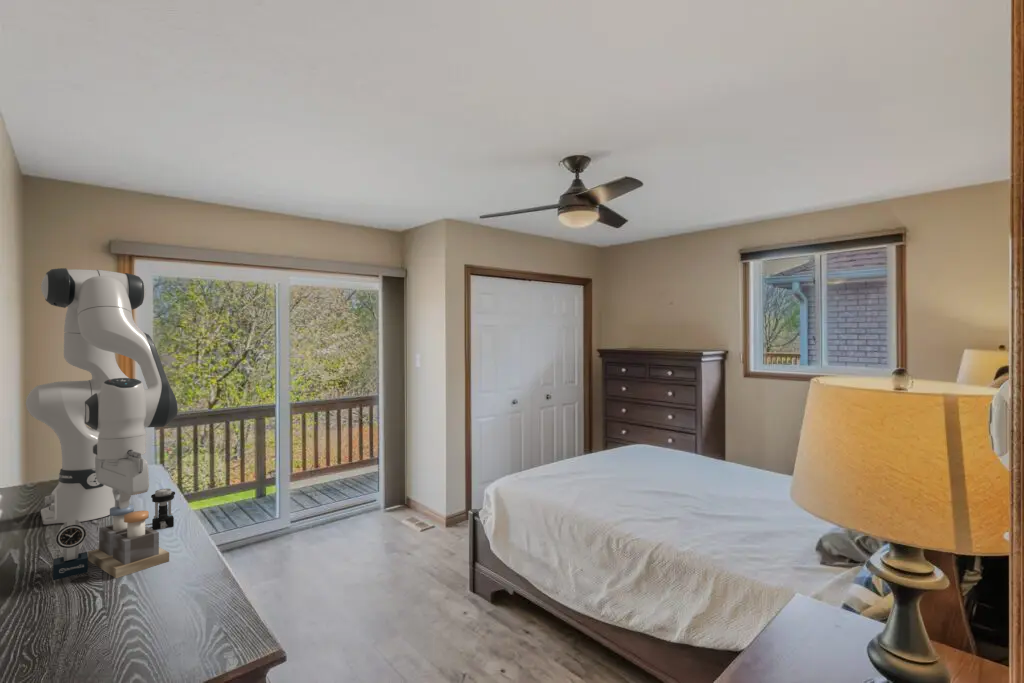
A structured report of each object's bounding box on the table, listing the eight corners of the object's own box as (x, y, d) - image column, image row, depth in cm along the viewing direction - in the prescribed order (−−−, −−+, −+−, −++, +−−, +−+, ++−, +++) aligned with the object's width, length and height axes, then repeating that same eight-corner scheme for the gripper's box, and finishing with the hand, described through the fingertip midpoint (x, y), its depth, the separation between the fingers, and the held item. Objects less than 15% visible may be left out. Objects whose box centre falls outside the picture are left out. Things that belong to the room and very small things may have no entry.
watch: (52, 583, 102) (53, 530, 102) (53, 570, 108) (54, 520, 108) (88, 575, 105) (89, 523, 105) (87, 562, 111) (87, 514, 111)
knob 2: (120, 556, 110) (120, 514, 110) (143, 549, 113) (143, 509, 113) (128, 560, 107) (128, 518, 107) (151, 553, 111) (152, 512, 111)
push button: (144, 533, 128) (145, 495, 129) (144, 527, 133) (144, 490, 133) (175, 528, 133) (175, 491, 133) (174, 522, 137) (174, 486, 137)
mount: (87, 560, 113) (88, 529, 113) (139, 545, 121) (139, 516, 121) (115, 578, 104) (116, 545, 104) (169, 561, 112) (169, 530, 112)
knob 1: (106, 547, 114) (106, 508, 114) (128, 541, 118) (129, 503, 118) (113, 552, 112) (114, 511, 112) (136, 545, 115) (137, 506, 115)
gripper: (158, 450, 112) (157, 511, 112) (121, 441, 123) (120, 496, 123) (124, 456, 107) (124, 519, 106) (89, 445, 118) (88, 503, 117)
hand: (121, 507), depth 115 cm, fingers closed, pressing on knob 1
